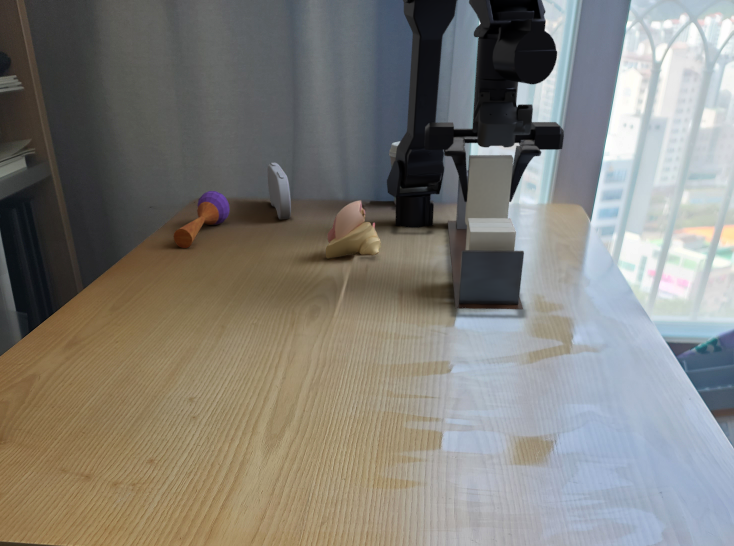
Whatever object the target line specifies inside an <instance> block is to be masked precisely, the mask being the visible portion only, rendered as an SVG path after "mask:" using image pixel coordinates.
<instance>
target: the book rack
mask: <svg viewBox="0 0 734 546" xmlns="http://www.w3.org/2000/svg"><path fill="white" fill-rule="evenodd" d="M447 227H448V230H447V231H448V241H449V250H450V251H449V252H450V261H451V273H452V285H453V286H452V287H453V298H454V307H455V309H461V310H464V309H467V310H524V306H523V304H522V301H521V297H520V294H521V284H522V277H523V275H522V274H523V266H524V257H525V251H524V250H514V251H497V250H466V236H467V229H457V226H456V220H447Z"/></svg>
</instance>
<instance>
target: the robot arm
mask: <svg viewBox="0 0 734 546" xmlns="http://www.w3.org/2000/svg"><path fill="white" fill-rule="evenodd" d="M402 2H403V15H404V16H405V19H406V21H407V24H408V25H409V28H410V30H411V32H412V39H411V57H410V59H411V60H410V74H409V91H408V92H409V93H408V108H407V123H406V124H407V125H406V131H405V133H404V135H403V137H401V140H400V141H401V142H400V143H399V145H398V146H397V150H396V159H395V161H394V163H393V166H392V168H391V167H390V170H389V174H388V176H387V179H386V189H387V194H389V195H390V196H392V197H393V198H394V197H395V198H396V204H395V227H402V228H410V229H413V228H414V229H416V228H417V229H419V228H423V227H433V226H434V212H435V211H434V208H435V207H434V206H435V204H434V203H435V202H434V200H431V199H432V195H440V194H441V190H442V184H443V180H444V173H445V166H444V165H445V164H444V156H445V157H450V158H452V161H453V164H454V166H455V169H456V172H457V175H458V180H460V184H461V189H462V193H463V198H464V202H467V194H468V185H467V170H468V168H467V151H466V147H465V146H466V144H477V145H478V146H479V147H481V148H490V147H503V148H512V147H513V146H515V150H514V151H515V152H514V156H513V168H512V178H511V189H510V200H509V203H512V201H513V198H514V196H515V193H516V191H517V189H518V187H519V184H520V182H521V179H522V178H523V174H524V173H525V171H526V169H527V167H528V166H529V164H530V162H531V161H532V160H533V158H534V157H541V156H542V151H545V150H546V151H548V150H551V151H554V150H555V151H556V150H558V151H560V150H563V146H564V139H565V130H564V128H563V127H562V126H561V125H560V124H559V123H557V122H556V121H533V113H534V107H533V104H530V103H527V104H523V103H522V104H518V105H517V100H518V90H519V89H518V88H519V83H520V84H526V85H527V84H528V85H537V84H540V83H542V82H544V81H545V80H546V79H547V78H549V76H550V75H551V73H552V72H553V71H554V69H555V66H556V63H557V59H558V50H557V45H556V43H555V40H554V38H553V36H552V35H551V34H550V33H549V32H547V31H546V24H547V23H546V22H547V21H546V18H545V14H546V8H545V6H544V3H543V0H468V4H469V6H470V8H472V10H473V11H474V13H475V14H476V16H477V19H478V21H479V24H478V26H477V27H476V28H475V29H474V31H473V37H474V38H477V47H476V65H475V76H474V77H475V78H474V95H473V109H472V124H471V127H472V128H455V125H454V122H452V121H451V122H450V121H449V122H444V121H443V122H437V110H438V98H439V97H438V96H439V85H440V75H441V74H440V72H441V61H442V50H443V39H444V34H445V33H446V31H447V30H448V28H449V26H450V25H451V23H452V22H453V20H454V18H455V16H456V10H457V2H458V0H402ZM515 144H518V145H515ZM400 186H401V188H400Z"/></svg>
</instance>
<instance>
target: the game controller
mask: <svg viewBox="0 0 734 546" xmlns="http://www.w3.org/2000/svg"><path fill="white" fill-rule="evenodd" d="M289 183H290V182H289V178H288V176H287V174H286V173H285V171H284V170H283V169H282V167H281V166H280V165H279V163H277V162H270V163H269V164H268V165H267V187H268V195H269V201H270V205H271V206H272V207H274V208H275V210H276V213H277V217H278V219H279V220H289V219H290V218H291V215H292V201H291V200H292V199H291V190H290V184H289Z"/></svg>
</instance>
